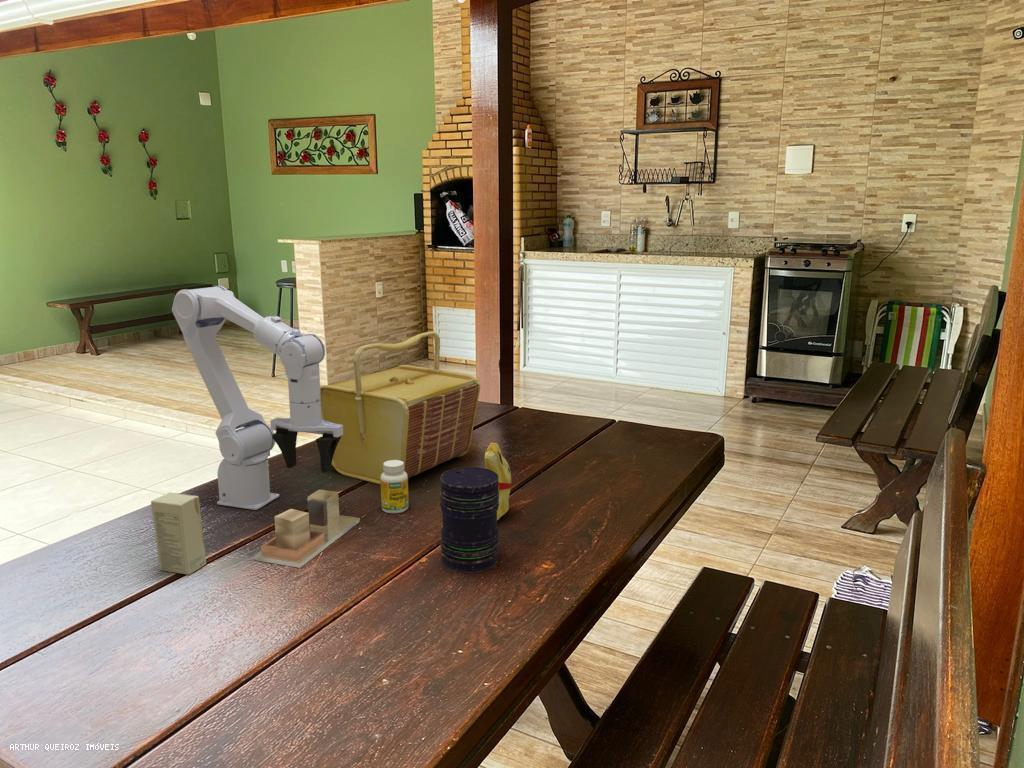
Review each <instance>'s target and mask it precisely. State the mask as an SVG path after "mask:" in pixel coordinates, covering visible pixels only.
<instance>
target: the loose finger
mask: <svg viewBox="0 0 1024 768" xmlns="http://www.w3.org/2000/svg"><path fill="white" fill-rule="evenodd" d="M273 517H274V529H275V530H274V531H275V536H276V547H281V548H287V549H293V550H297V549H299V548H300V547H302V546H303V545H304V544H306V543H307V542H308V541H310V538H311V534H310V515H309V513H308V511H307V512H306V511H301V510H297V509H294V508H290V509H287V510H285V511H283V512H282V513H279V514H277V515H275V516H273Z"/></svg>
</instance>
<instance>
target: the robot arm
mask: <svg viewBox="0 0 1024 768" xmlns="http://www.w3.org/2000/svg"><path fill="white" fill-rule="evenodd" d="M171 311H172V315H173V316H174V318H175V320H176V323H177V324H178V328H179V329H180V332H181V333H182V337H183V339H184V342H185V344H186V346H187V348H188V349H187V350H188V351H189V353H190V355H191V358H192V359H193V361H194V363H195V365H196V368H197V370H198V371H199V374H200V376H201V379H202V380H203V382H204V384H205V388H207V391H208V393H209V395H210V397H211V400H212V402H213V403H214V405H215V407H216V408H215V409H216V410H217V412H218V414H219V416H220V418H221V421H220V423H219V425H218V427H217V428H216V430H215V435H216V437H217V440H218V445H219V452H220V454H221V456H222V457H223V459H222V461H220V463H219V465H218V468H217V484H218V485H217V486H218V487H217V488H218V495H219V496H218V497H219V500H218V501H217V502H216V504H217V505H220V506H226V507H227V506H228V507H233V508H240V509H245V510H252V511H257V510H260V509H261V508H262V507H264V506H266V505H267V504H269V503H271V502H273V501H274V500H276V499H278V498H279V497H281V496H280V494H279V493H275V492H274V493H272V492H271V486H270V471H269V470H270V469H269V457H270V456H271V450H273V449H274V447H275V444H276V445H277V447H278V448H279V450H280V452H281V454H282V457H283V460H284V462H285V465H286V468H287V469H291V468H293V467H295V466H296V465H297V437H298V433H305V434H314V435H322V436H320V437H317V438H316V439H315V443H316V444H317V448H318V451H319V457H320V470H321V473H322V474H323V473H324V474H326V473H327V472H329V471H331V468H332V459H333V455H334V452H335V449H336V447H337V445H338V442H339V441H340V439H341V436H342V435H343V425H340V424H335V423H331V422H327V421H324V420H322V415H321V394H320V387H321V377H320V375H321V374H320V363H322V362H323V361H324V358H325V356H326V348H325V344H324V343H323V341H322V339H321V338H320V337H318V336H317V335H316V334H315V333H306V334H304V333H302V332H301V330H299V329H297V328H294V327H292V326H290V325H288V324H286V323H285V322H283V321H282V320H283V319H282V318H281V317H279V316H278V315H277V316H276V315H275V316H270V315H269V316H266V317H263V316H262V315H260V314H259V313H257V312H256V311H254V310H253V309H252V308H250V307H249V306H247V305H246V304H244V302H242V301H240V300H239V299H238V298H236V296H235V294H234V292H233V291H231V290H228V289H227V288H226V287H225V286H222V285H214V286H211V287H202V288H201V287H199V288H193V289H192V288H191V289H181V290H178V291H177V292H176V294H175V296H174V298H173V304H172V308H171ZM226 321H230V322H231V323H234V324H235V325H237V326H239V327H241V328H242V329H245V330H246V331H249V332H250V333H253V338H254V341H255V342H256V343H257V344H259V345H260V346H262V347H264V348H265V349H267V350H268V351H270V352H272V353H273V354H275V355H276V356H278V357H279V360H280V362H281V365H283V367H284V371H285V376H286V378H287V383H288V385H287V386H288V402H289V418H285V417H275V418H273V419H271V420H270V424H268V423H267V422H266V421H265V419H264V417H263V415H262V414H261V413H260V412H257V411H256V410H253V409H251V408H249V407H248V404H247V402H246V400H245V398H244V396H243V393H242V391H241V390H240V387H239V385H238V383H237V381H236V379H235V376H234V375H233V373H232V370H231V368H230V366H229V364H228V362H227V360H226V358H225V356H224V354H223V351H222V349H221V347H220V345H219V342H218V340H217V339H216V337H217V334H218V332H219V331H220V330H221V329H222V327H223V325H224V324H225V323H226ZM274 431H275V432H274Z"/></svg>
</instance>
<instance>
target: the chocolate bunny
mask: <svg viewBox="0 0 1024 768" xmlns="http://www.w3.org/2000/svg"><path fill="white" fill-rule="evenodd" d="M483 461H484V465H485V469H489V470H492V471H494V472H496V473H497V474H498V477H499V482H498V485H499V508H498V510H497V521H498V520H500V518H501V517H503V516H504V515H505V514H506V513H507V512H508V511H509V510H510V502H509V500H510V499H509V498H510V493H511V489H512V485H513V483H512V475H511V474H512V471H511V467H510V465H509V463H508V461H507V460H506V458H505V457H504V456H503V454H502V449H501V448H500V445H499V444H498V443H497V442H491V443H490V444H489V445H488V446H487V449H486V450H485V453H484V460H483Z"/></svg>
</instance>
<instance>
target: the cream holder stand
mask: <svg viewBox="0 0 1024 768" xmlns="http://www.w3.org/2000/svg"><path fill="white" fill-rule="evenodd" d="M307 513H309V515H310V534H311V538H310V541H308V542H307V543H306V544H304V545H303V546H302V547H300V548H299V549H297V550H293V549H287V548H281V547H276V535H275V536H273V537H272V538H270V539H269V540H268V541H266V542H264V543H263V544H261V545H260V550H259V551H258V552H256V553H255V554H253V560H254V561H259V562H264V563H269V564H275V565H282V566H287V567H292V568H293V567H294V568H299V569H301V568H302V567H303V566H305V565H306V564H308V562H310V561H311V560H312V559H314V558H315V557H316V556H317V555H319V554H320V553H321V552H322V551H324V550H325V549H326V548H328V547H329V546H330V545H331V544H333V543H334V542H336V541H337V540H338V539H340V538H341V537H342V536H343V535H345V534H346V533H348V532H349V531H350V530H351V529H352V528H354V527H355V526H356V525H357V524H359V523H360V517H356V516H348V515H342V514H340V504H339V492H338V491H334V490H327V489H326V490H325V489H317V490H316V491H314V492H313V493H311V494H310V495H308V496H307Z"/></svg>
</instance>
